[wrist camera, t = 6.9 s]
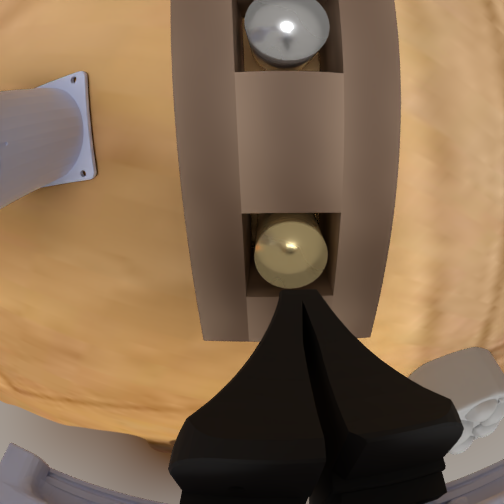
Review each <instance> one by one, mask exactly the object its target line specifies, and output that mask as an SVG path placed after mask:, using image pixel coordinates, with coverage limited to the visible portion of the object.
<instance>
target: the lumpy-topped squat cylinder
mask: <svg viewBox="0 0 504 504" xmlns="http://www.w3.org/2000/svg"><path fill="white" fill-rule="evenodd" d="M408 378H409V379H410V380H412V381H414V382H416V383H417V384H419V385H421V386H423V387H425V388H427V389H429V390H431V391H433V392H436V393H438V394H440V395H442V396H445V397H447V398H449V399H451V400H452V402H453V404H454V406H455V408H456V409H457V412H458V414H459V417H460V419H461V422H462V425H463V427H464V430H463V434H462V436H461V437H460V439H459V440H458V442H457V443H456V444H455V445H454V446H453V447H452V449H451V450H450V451H449V453H451V454H459V453H462V452H464V451H465V450H466V449H467V448H468V447H469V446H470V445H471V443H472V442H473V439H477V438H478V437H485V436H487V435H489V434H491V433H492V432H493V431H494V430H495V429H496V427H497V426H498V424H499V422H500V420H502V419H503V418H504V374H503V372H502V370H501V369H500V367H499V366H498V364H497V362H496V361H495V359H494V358H493V356H492V354H491V353H490V351H488V350H486V349H483V348H479V347H471V348H467V349H464V350H460V351H457V352H454V353H451V354H448V355H445V356H443V357H440V358H437V359H434V360H432V361H429V362H427V363H425V364H424V365H422V366H420V367H419V368H418V369H416V370H415V371H414V372H413V373H412V374H411V375H410V376H409V377H408Z"/></svg>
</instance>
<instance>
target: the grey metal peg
mask: <svg viewBox="0 0 504 504" xmlns="http://www.w3.org/2000/svg"><path fill="white" fill-rule="evenodd" d="M244 24H245V30H246V34H247V37H248V40H249V44H250V47H251V51H252V54H253V57H254V59H255V61H256V62H257V63H258V65H259V66H260V67H262V68H263V69H264V70H266V71H299V70H301V69H302V68H303V67H304V66H305V65H306V64H307V63H308V62H309V61H310V60H311V58H312V57H313V56H314V55H315V54H316V53H317V52H318V51H319V50H320V48H321V47H322V46H323V45H324V43H325V42H326V40H327V38H328V35H329V30H330V25H329V19H328V16H327V14H326V12H325V10H324V9H323V7H322V6H321V5H320V4H319V3H318V2H317V1H316V0H254V1H253V2H252V3H251V5H250V6H249V8H248V10H247V12H246V15H245V23H244Z"/></svg>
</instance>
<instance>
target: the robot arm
mask: <svg viewBox="0 0 504 504" xmlns="http://www.w3.org/2000/svg"><path fill="white" fill-rule="evenodd" d="M75 77H76V82H75V83H74V78H75ZM83 171H85V172H86V176H85V175H84V174H83ZM96 174H97V171H96V164H95V157H94V149H93V141H92V132H91V122H90V111H89V98H88V79H87V74H86V72H84V71H79V72H76V73H73V74H70V75H67V76H65V77H62V78H59V79H57V80H54V81H51V82H49V83H46V84H44V85H41V86H39V87H37V88H34V89H20V90H9V91H0V209H1V208H3V207H5V206H7V205H8V204H10V203H12V202H14V201H16V200H18V199H19V198H21V197H23V196H25V195H27V194H29V193H31V192H33V191H35V190H37V189H39V188H42V187H47V186H53V185H59V184H64V183H71V182H77V181H84V180H90V179H93V178H94V177H95V176H96ZM463 430H464V427H463V425H462V422H461V419H460V417H459V414H458V412H457V409H456V408H455V406H454V404H453V402H452V400H451V399H449V398H447V397H445V396H442V395H440V394H438V393H436V392H433V391H431V390H429V389H427V388H425V387H423V386H421V385H419V384H417V383H416V382H414V381H412V380H410V379H409V378H407V377H405V376H404V375H402V374H401V373H399V372H397V371H396V370H395V369H393V368H392V367H390V366H389V365H387V364H386V363H385V362H383V361H382V360H381V359H379V358H378V357H377V356H376V355H374V354H373V353H372V352H371V351H370V350H369V349H367V348H366V347H365V346H364V345H363V344H362V343H361V342H360V341H359V340H358V339H357V338H356V337H355V336H354V335H353V334H352V333H351V332H350V331H349V330H348V328H347V327H346V326H345V325H344V324H343V323H342V322H341V320H340V319H339V318H338V317H337V316H336V314H335V313H334V312H333V311H332V309H331V308H330V307H329V305H328V304H327V303H326V301H325V300H324V298H323V297H322V296H321V294H320V293H319V291H318V290H317V289H302V290H282V291H280V292H279V299H278V303H277V307H276V310H275V312H274V315H273V317H272V320H271V322H270V324H269V326H268V328H267V330H266V332H265V334H264V336H263V338H262V339H261V341H260V343H259V344H258V346H257V348H256V349H255V351H254V352H253V354H252V355H251V356H250V358H249V359H248V361H247V362H246V363H245V364H244V366H243V367H242V368H241V369H240V371H239V372H238V373H237V374H236V375H235V376H234V378H233V379H232V380H231V381H230V382H229V383H228V384H227V385H226V386H225V387H224V388H223V389H222V390H221V391H220V392H219V393H218V394H217V395H216V396H214V397H213V398H212V399H211V400H210V401H209V402H207V403H206V404H205V405H204V406H202V407H201V408H200V409H198V410H197V411H196V412H195V413H193V414H192V415H191V416H189V417H188V418H187V419H186V421H185V422H184V424H183V426H182V428H181V430H180V432H179V434H178V437H177V439H176V442H175V444H174V447H173V450H172V454H171V459H170V463H169V468H168V470H169V472H170V475H171V476H172V477H173V479H174V480H175V481H176V483H177V484H178V485H179V487H180V488H181V489H182V494H181V499H180V504H306V501H307V499H308V497H309V504H504V459H503V460H501V461H499V462H497V463H494V464H492V465H490V466H488V467H486V468H484V469H481V470H479V471H477V472H474V473H472V474H470V475H467V476H465V477H462V478H460V479H457V480H454V481H451V482H449V483H446V484H445V482H444V478H443V474H442V471H443V470H444V469H445V462H444V459H443V457H444V456H445V455H446V454H447V453H448V452H449V451H450V450H451V449H452V447H453V446H454V445H455V444H456V443H457V442H458V440H459V439H460V437H461V436H462V434H463ZM0 504H167V503H161V502H157V501H152V500H147V499H143V498H139V497H135V496H130V495H127V494H123V493H120V492H116V491H113V490H109V489H106V488H103V487H100V486H97V485H94V484H91V483H88V482H85V481H82V480H80V479H77V478H74V477H72V476H69V475H67V474H64V473H62V472H59V471H57V470H55V469H52V468H50V467H49V465H48V464H46V463H45V462H44V461H43V460H42V459H41V458H40V457H38V456H37V455H35V454H33V453H31V452H29V451H27V450H25V449H23V448H21V447H19V446H17V445H16V444H14V443H10V444H9V446H8V448H7V450H6V452H5V454H4V456H3V458H2V460H1V463H0Z"/></svg>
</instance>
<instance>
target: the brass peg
mask: <svg viewBox="0 0 504 504" xmlns="http://www.w3.org/2000/svg"><path fill="white" fill-rule="evenodd" d="M327 258H328V251H327V246H326V243H325V241H324V238H323V236H322V233H321V231H320V228H319V226H318V223H317V221H316V218H315V216H314V213H258V221H257V231H256V242H255V253H254V260H255V265H256V268H257V270H258V272H259V274H260V275H261V276H262V277H263V278H264V279H265V280H266V281H267V282H269V283H270V284H272V285H275V286H277V287H281V288H288V289H292V288H299V287H303V286H305V285H308V284H310V283H311V282H313V281H314V280H315V279H317V278H318V277H319V276H320V274H321V273H322V272H323V270H324V268H325V266H326V263H327Z"/></svg>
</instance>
